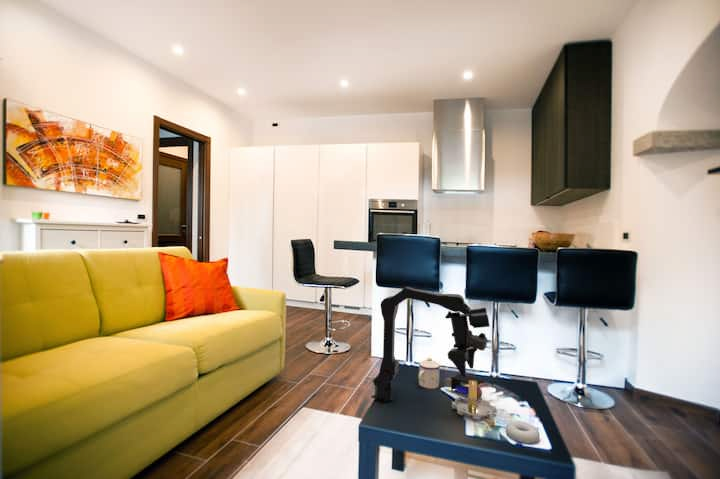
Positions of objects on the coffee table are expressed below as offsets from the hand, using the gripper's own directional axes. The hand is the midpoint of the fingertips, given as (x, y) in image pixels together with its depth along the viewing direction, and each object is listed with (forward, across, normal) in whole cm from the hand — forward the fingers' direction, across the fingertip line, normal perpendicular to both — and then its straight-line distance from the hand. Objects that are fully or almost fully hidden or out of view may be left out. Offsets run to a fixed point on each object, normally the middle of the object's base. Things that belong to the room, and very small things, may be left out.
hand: (468, 372), depth 132 cm
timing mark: (+16, -3, -6) cm, 17 cm away
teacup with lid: (+11, +15, +24) cm, 31 cm away
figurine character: (+14, +16, +9) cm, 23 cm away
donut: (+18, -6, -16) cm, 25 cm away
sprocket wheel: (+14, +2, +1) cm, 14 cm away
